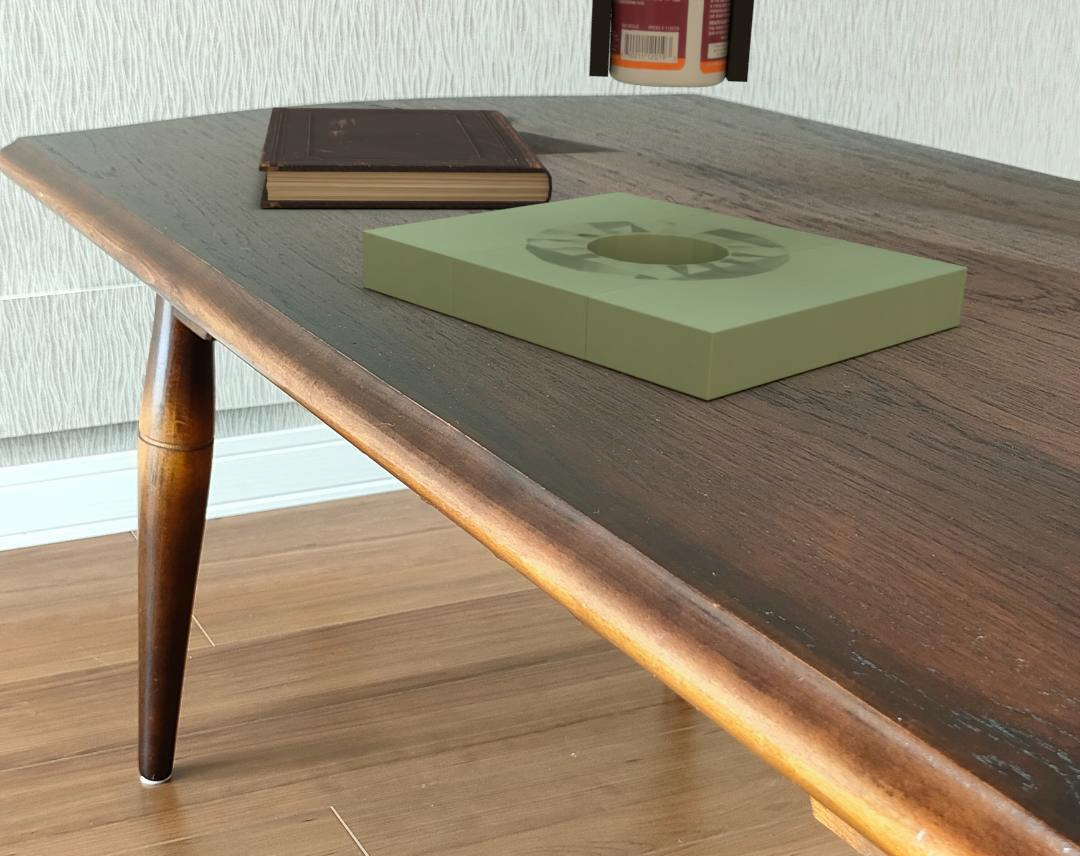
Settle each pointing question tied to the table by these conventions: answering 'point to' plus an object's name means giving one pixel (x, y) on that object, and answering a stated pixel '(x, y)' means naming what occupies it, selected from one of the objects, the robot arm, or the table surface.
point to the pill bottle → (669, 42)
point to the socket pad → (666, 288)
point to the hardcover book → (398, 160)
